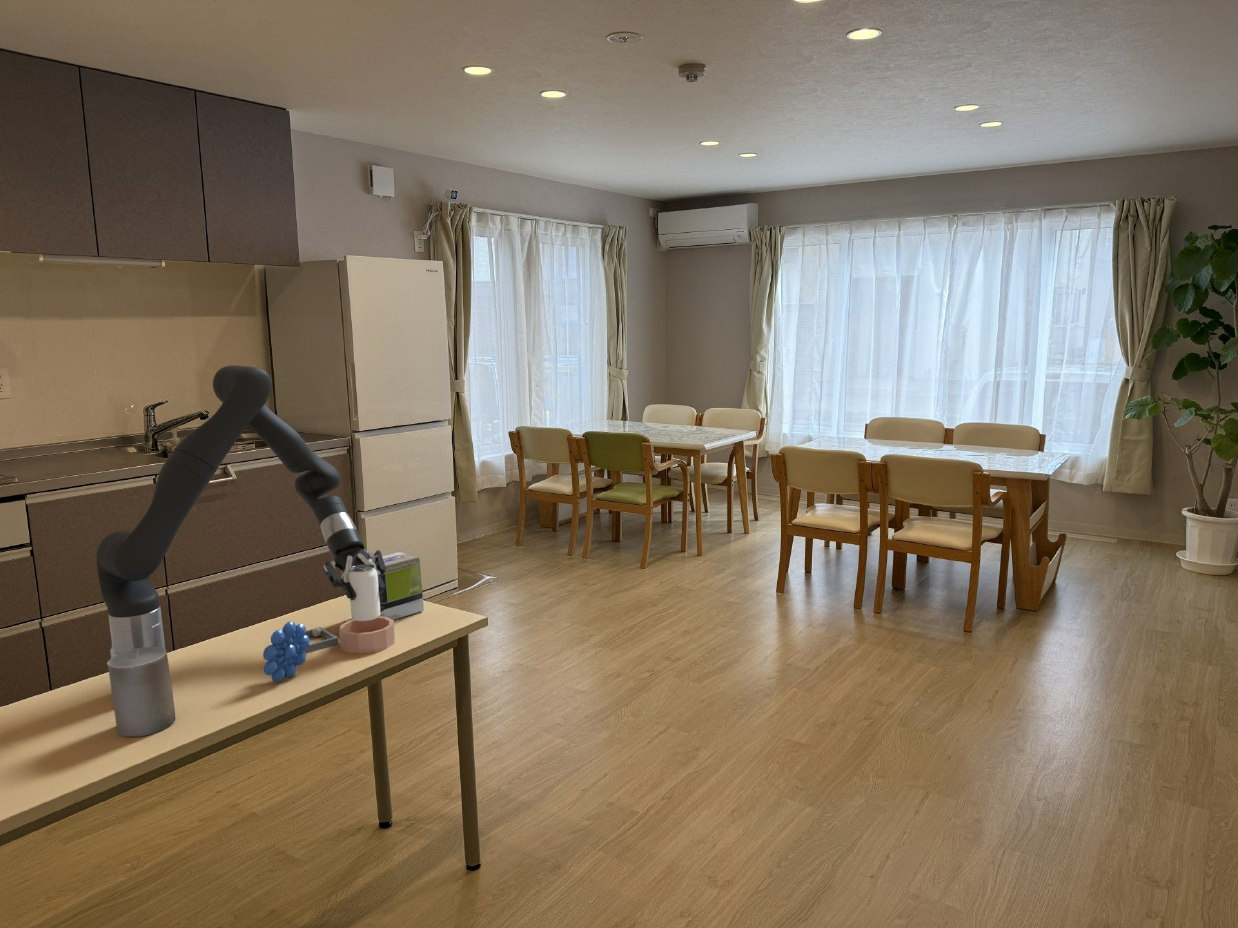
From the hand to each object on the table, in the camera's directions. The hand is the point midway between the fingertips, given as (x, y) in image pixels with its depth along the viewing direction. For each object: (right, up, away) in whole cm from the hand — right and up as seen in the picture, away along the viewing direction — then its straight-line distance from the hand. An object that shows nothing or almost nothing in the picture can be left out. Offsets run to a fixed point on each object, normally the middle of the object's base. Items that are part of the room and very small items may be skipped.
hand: (367, 594), depth 194 cm
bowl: (-1, -12, +3) cm, 12 cm away
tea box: (-1, -9, +23) cm, 24 cm away
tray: (-15, -12, +4) cm, 20 cm away
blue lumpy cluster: (-13, -15, -15) cm, 25 cm away
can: (-1, -6, +2) cm, 6 cm away
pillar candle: (-31, -19, -36) cm, 51 cm away
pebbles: (-15, -12, +4) cm, 20 cm away
